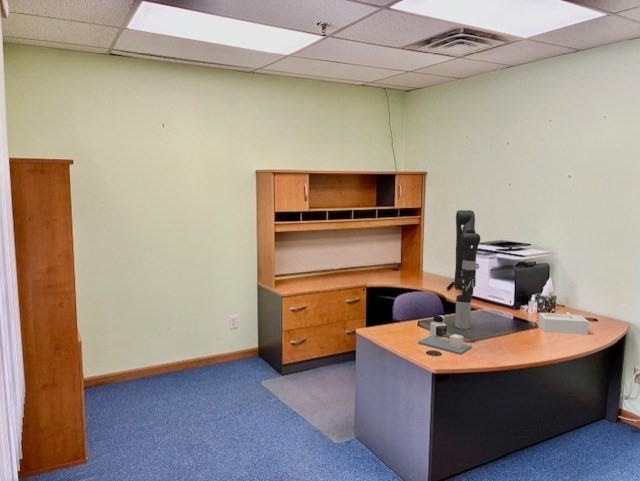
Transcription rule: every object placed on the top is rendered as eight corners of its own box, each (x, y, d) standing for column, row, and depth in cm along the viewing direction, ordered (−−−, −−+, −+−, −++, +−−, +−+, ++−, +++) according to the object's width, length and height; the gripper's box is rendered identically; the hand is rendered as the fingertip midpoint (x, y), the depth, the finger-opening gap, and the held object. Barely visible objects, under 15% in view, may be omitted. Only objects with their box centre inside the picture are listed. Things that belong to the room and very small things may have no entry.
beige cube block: (453, 344, 270) (454, 333, 270) (463, 346, 267) (463, 336, 266) (449, 346, 266) (449, 336, 265) (458, 349, 263) (459, 338, 262)
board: (430, 337, 285) (430, 327, 284) (471, 348, 268) (472, 337, 267) (418, 343, 275) (418, 333, 274) (460, 354, 257) (461, 343, 257)
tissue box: (587, 335, 292) (589, 317, 291) (544, 332, 298) (545, 315, 296) (580, 328, 306) (581, 311, 305) (538, 325, 312) (539, 309, 310)
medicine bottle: (435, 337, 286) (436, 317, 284) (430, 333, 293) (430, 314, 291) (446, 336, 288) (447, 317, 286) (440, 332, 295) (441, 313, 293)
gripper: (468, 265, 278) (466, 292, 280) (457, 268, 267) (455, 297, 269) (480, 267, 273) (479, 294, 275) (469, 270, 262) (468, 299, 264)
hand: (467, 295), depth 272 cm, fingers open, 8 cm apart
